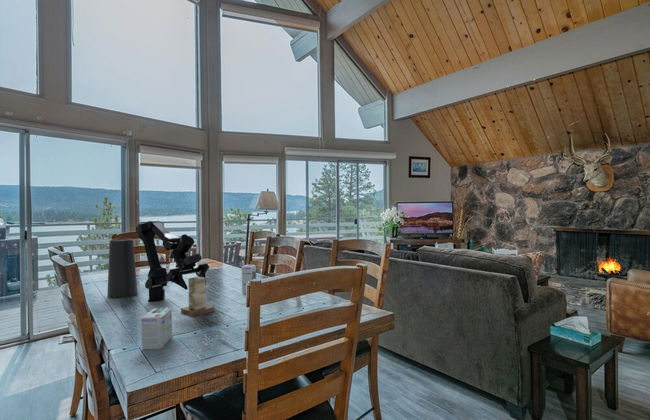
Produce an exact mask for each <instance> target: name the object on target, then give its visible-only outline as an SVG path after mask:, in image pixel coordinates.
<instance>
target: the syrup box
mask: <svg viewBox="0 0 650 420" xmlns="http://www.w3.org/2000/svg"><path fill="white" fill-rule="evenodd" d="M256 266H257V265H256V264H245V265H243V266H241V294H243V293H244V294H245V295H247V294H246V284H247V283H248V281H250V280H253V279H256V280H257V268H256Z"/></svg>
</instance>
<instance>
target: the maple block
mask: <svg viewBox="0 0 650 420" xmlns="http://www.w3.org/2000/svg"><path fill="white" fill-rule="evenodd" d="M205 278H206V277H205ZM205 278H204V277H197V276H194V277H190V278H188V282H187V283H188V306H189V308H190V309H194V310H198V309H201V308H205V307H206V305H207V301H206V299H207V298H206V295H207V294H206V293H207V291H206V285H205Z"/></svg>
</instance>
